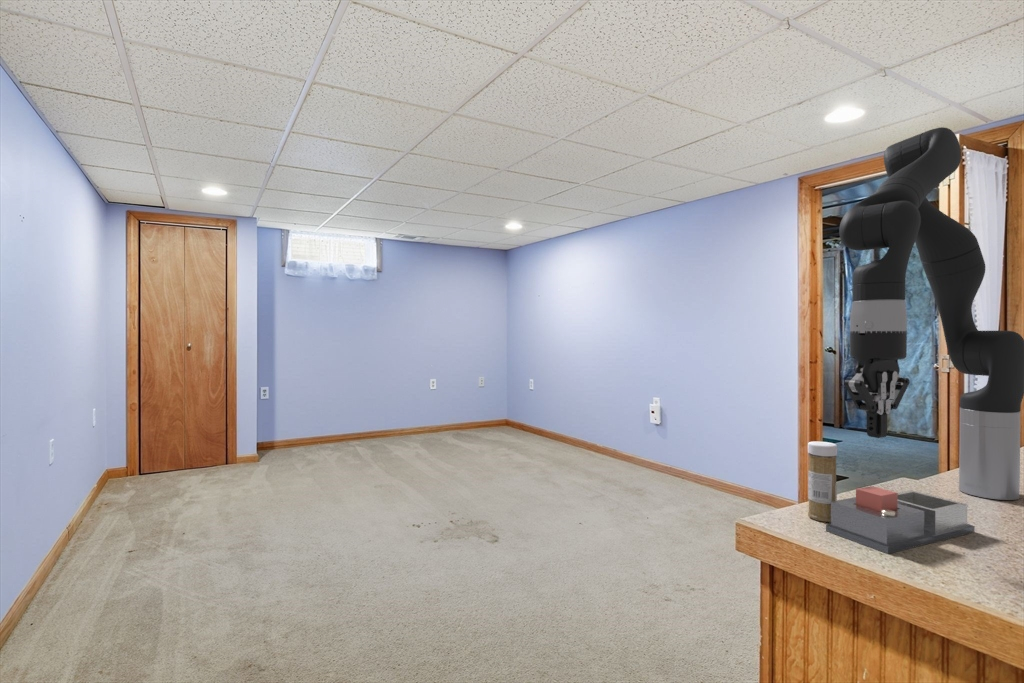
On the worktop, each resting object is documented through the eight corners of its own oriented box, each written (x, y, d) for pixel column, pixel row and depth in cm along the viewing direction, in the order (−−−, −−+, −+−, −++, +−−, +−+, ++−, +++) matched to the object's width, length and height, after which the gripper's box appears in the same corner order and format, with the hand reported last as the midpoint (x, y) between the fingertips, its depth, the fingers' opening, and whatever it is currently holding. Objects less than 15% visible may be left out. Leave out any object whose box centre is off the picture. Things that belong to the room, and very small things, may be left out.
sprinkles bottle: (841, 519, 94) (842, 443, 94) (828, 524, 92) (829, 446, 92) (815, 512, 98) (815, 439, 98) (802, 517, 96) (802, 442, 95)
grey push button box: (909, 513, 97) (909, 482, 97) (974, 532, 88) (974, 498, 88) (825, 531, 89) (826, 497, 89) (888, 553, 80) (888, 516, 80)
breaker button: (871, 516, 89) (872, 486, 89) (897, 523, 85) (897, 492, 85) (855, 519, 87) (855, 488, 87) (880, 527, 84) (881, 495, 84)
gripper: (880, 329, 92) (879, 430, 92) (827, 329, 87) (826, 435, 87) (929, 329, 85) (927, 438, 85) (874, 329, 80) (873, 444, 80)
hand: (876, 436), depth 86 cm, fingers closed
